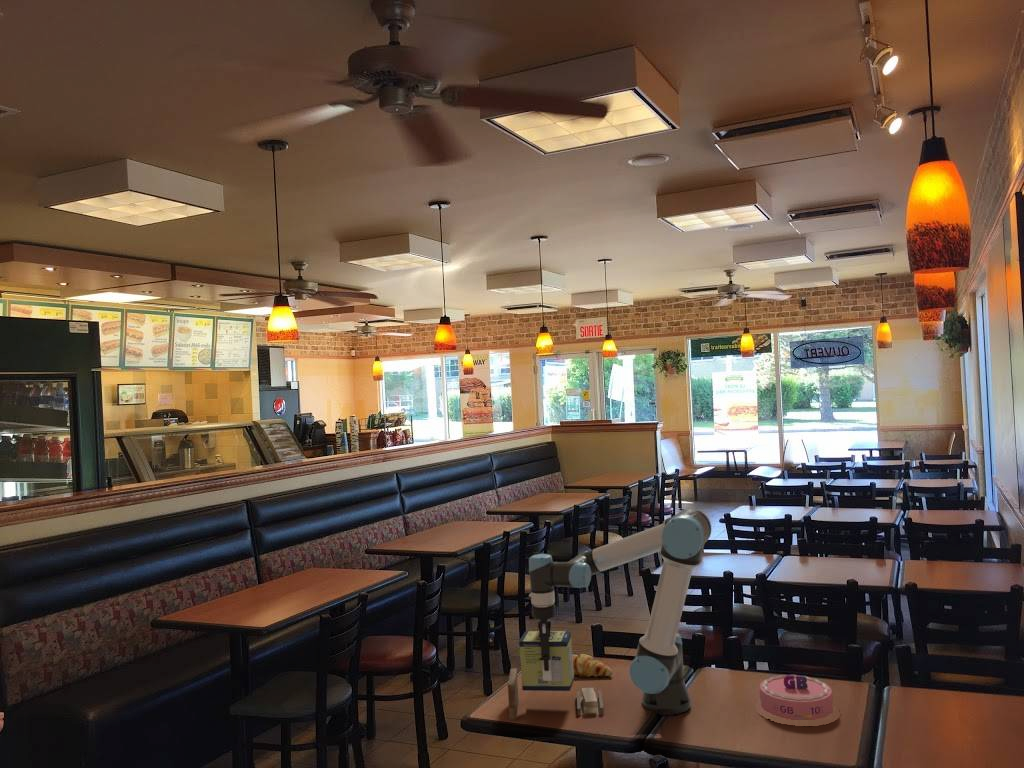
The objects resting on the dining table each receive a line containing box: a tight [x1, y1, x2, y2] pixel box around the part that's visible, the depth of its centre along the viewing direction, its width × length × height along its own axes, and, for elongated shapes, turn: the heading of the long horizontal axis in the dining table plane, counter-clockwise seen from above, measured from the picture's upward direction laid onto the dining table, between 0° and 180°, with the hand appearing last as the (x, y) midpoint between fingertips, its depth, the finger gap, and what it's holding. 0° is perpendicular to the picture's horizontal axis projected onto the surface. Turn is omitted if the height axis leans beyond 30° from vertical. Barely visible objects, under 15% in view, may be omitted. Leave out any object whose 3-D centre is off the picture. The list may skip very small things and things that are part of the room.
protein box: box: [518, 630, 575, 692], centre depth 251 cm, size 10×16×16 cm
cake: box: [759, 674, 834, 720], centre depth 242 cm, size 25×25×11 cm
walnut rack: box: [507, 667, 605, 721], centre depth 251 cm, size 29×14×11 cm, turn 86°
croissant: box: [572, 653, 613, 678], centre depth 282 cm, size 21×10×8 cm, turn 59°
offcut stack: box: [581, 687, 598, 714], centre depth 251 cm, size 4×12×4 cm, turn 176°
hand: (547, 673), depth 251 cm, fingers closed on protein box, 11 cm apart
